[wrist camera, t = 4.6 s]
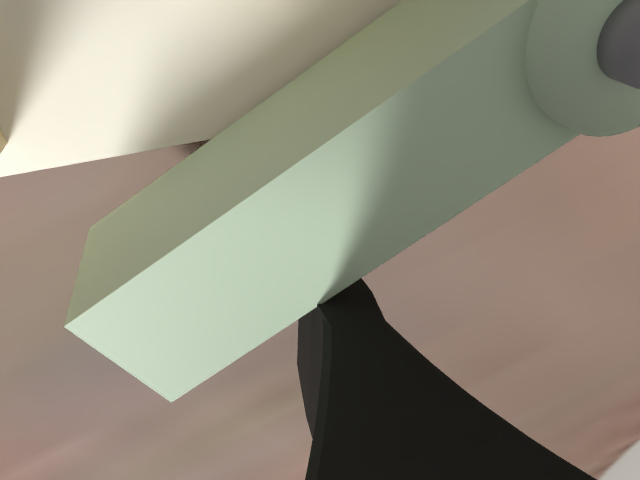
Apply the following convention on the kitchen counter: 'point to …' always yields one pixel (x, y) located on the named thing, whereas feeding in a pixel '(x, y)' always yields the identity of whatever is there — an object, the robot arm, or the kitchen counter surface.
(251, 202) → the hinged leg
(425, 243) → the kitchen counter surface
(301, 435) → the kitchen counter surface
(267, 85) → the stool seat
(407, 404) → the robot arm
